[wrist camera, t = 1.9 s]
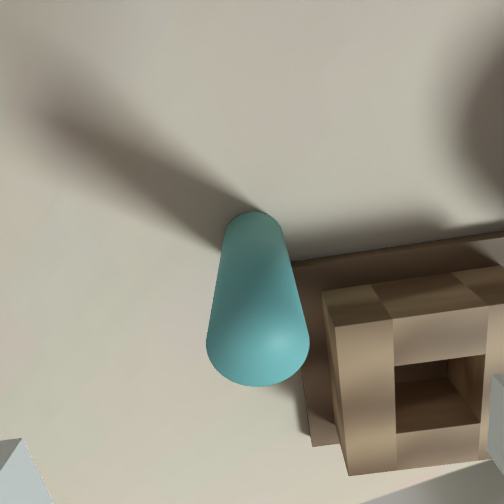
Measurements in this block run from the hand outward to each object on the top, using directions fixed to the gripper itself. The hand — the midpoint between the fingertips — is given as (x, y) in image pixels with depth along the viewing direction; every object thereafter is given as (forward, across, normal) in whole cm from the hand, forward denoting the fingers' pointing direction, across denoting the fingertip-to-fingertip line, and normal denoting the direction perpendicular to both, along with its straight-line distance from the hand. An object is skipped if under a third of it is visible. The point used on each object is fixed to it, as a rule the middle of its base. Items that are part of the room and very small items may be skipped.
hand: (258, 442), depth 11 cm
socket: (+16, +10, -10) cm, 22 cm away
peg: (+16, 0, 0) cm, 16 cm away
